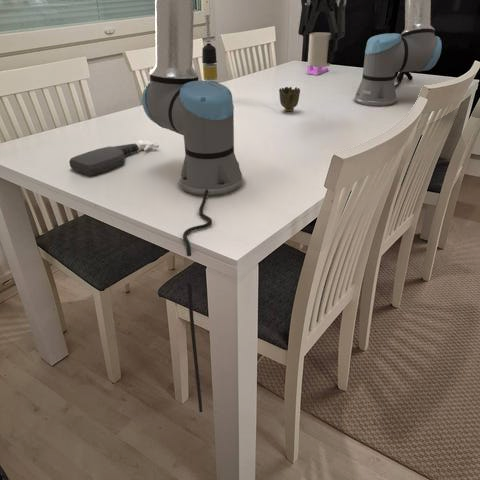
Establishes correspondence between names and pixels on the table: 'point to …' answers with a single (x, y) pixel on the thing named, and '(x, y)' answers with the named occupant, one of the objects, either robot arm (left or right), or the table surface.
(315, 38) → the canister
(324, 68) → the bracket
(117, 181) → the table surface
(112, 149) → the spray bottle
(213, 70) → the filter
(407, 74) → the squiggle
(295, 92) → the cup
